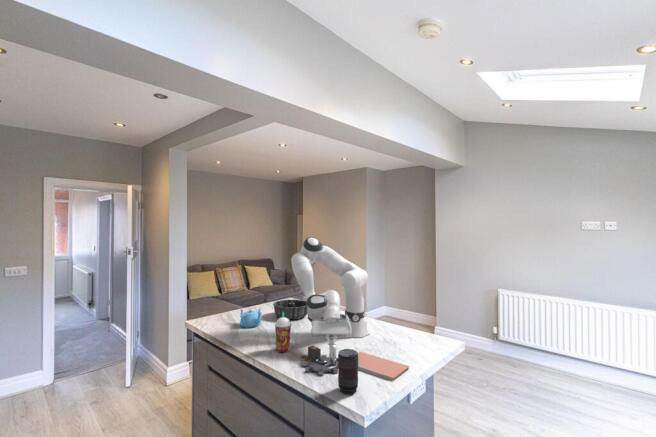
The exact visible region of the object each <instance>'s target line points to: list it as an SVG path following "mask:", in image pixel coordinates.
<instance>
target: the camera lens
mask: <svg viewBox="0 0 656 437" xmlns="http://www.w3.org/2000/svg"><path fill="white" fill-rule="evenodd" d="M358 352H359V351H357V350H355V349H353V348H352V349H351V348H344V349H343V348H342V349H341V350H339V351H338V354H337V358H338V368H337V369H338V372H337V375H338V376H337V382H338V383H337V384H338V388H339V392H340V393H341V394H344V395H350V396H351V395H354V394H356V393H357V391H358V390H357V389H358V386H359V385H358V384H359V369H358Z"/></svg>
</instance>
